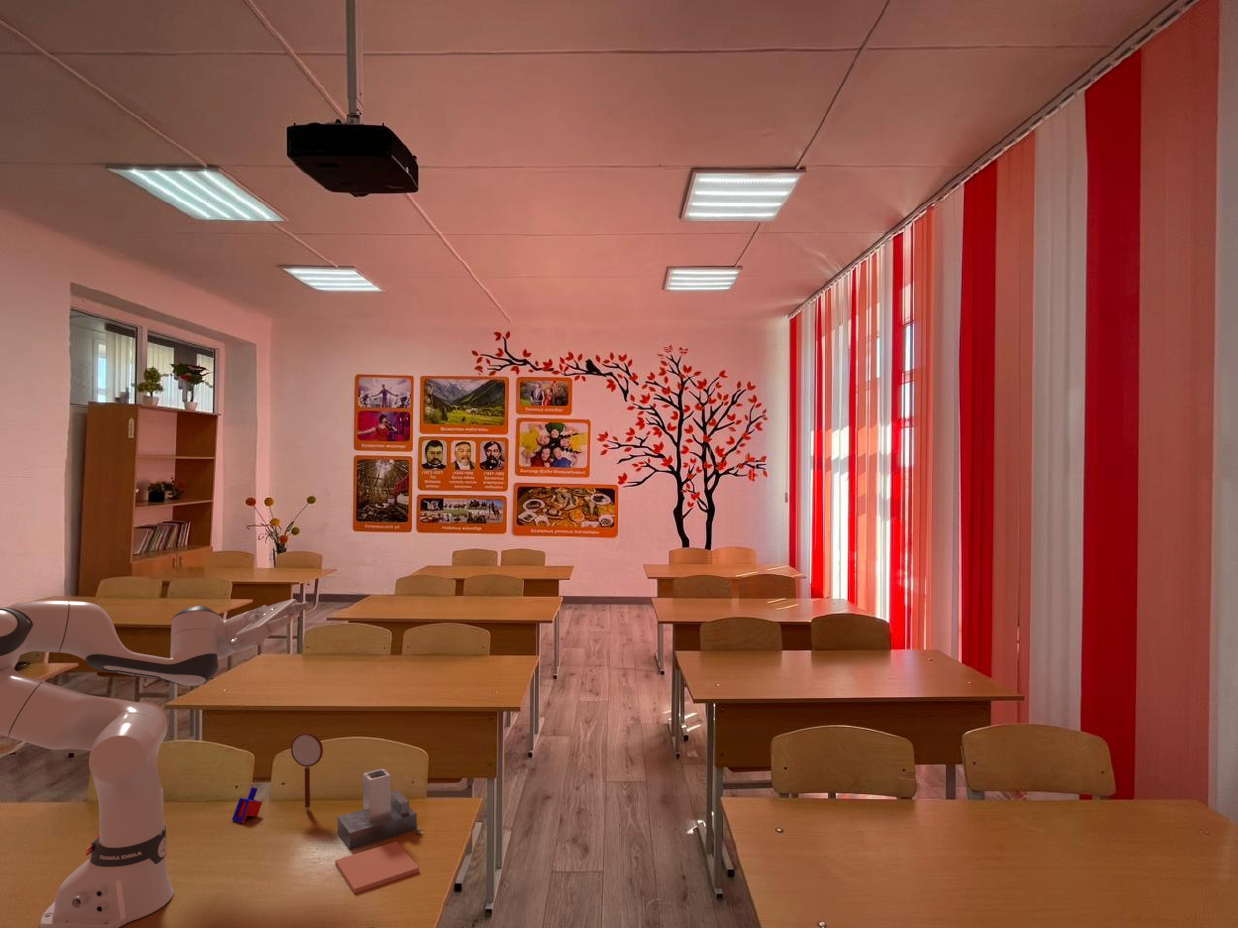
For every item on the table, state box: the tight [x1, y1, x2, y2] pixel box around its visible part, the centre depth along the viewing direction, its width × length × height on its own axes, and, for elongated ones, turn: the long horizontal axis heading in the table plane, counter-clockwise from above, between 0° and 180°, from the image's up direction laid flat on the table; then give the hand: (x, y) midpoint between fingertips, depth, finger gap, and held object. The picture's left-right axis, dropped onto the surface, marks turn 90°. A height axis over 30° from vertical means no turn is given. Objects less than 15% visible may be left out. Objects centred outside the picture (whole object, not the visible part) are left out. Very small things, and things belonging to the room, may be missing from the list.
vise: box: [337, 777, 418, 851], centre depth 185 cm, size 16×10×13 cm, turn 126°
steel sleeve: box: [362, 767, 392, 822], centre depth 185 cm, size 5×5×10 cm
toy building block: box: [231, 786, 263, 824], centre depth 194 cm, size 4×4×8 cm
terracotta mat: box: [334, 841, 420, 895], centre depth 169 cm, size 14×14×1 cm
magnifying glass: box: [290, 732, 324, 811], centre depth 197 cm, size 9×2×20 cm, turn 81°
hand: (298, 611), depth 188 cm, fingers open, 8 cm apart
